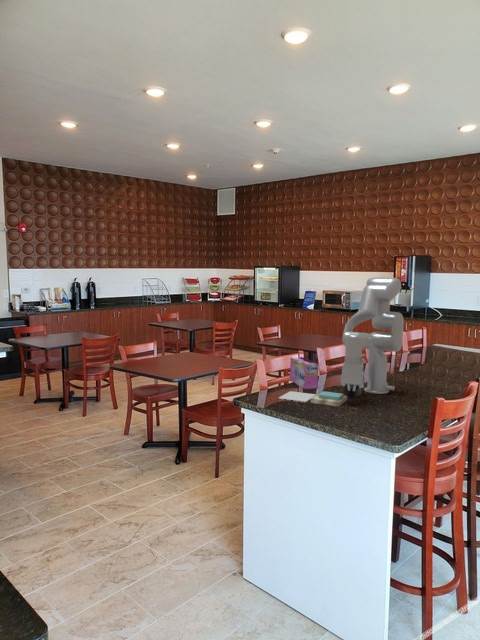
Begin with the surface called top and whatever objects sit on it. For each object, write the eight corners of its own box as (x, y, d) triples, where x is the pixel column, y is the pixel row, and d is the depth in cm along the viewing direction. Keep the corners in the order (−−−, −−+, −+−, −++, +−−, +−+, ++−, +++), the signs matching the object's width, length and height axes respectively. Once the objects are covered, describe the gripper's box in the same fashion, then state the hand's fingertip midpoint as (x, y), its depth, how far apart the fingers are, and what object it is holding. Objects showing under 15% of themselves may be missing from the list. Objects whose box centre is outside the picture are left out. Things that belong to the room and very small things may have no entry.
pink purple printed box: (288, 379, 282) (288, 356, 281) (301, 379, 284) (301, 356, 283) (304, 389, 259) (305, 364, 258) (318, 388, 261) (319, 363, 260)
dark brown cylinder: (347, 397, 243) (348, 367, 242) (338, 392, 253) (339, 364, 251) (364, 396, 246) (366, 367, 245) (355, 391, 255) (356, 363, 254)
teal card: (343, 397, 235) (343, 393, 235) (338, 400, 228) (339, 397, 228) (323, 394, 240) (323, 391, 239) (318, 397, 232) (318, 394, 232)
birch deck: (346, 399, 237) (347, 395, 237) (339, 406, 225) (339, 402, 225) (319, 396, 244) (319, 392, 244) (310, 402, 231) (310, 398, 231)
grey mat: (316, 395, 246) (316, 394, 246) (305, 402, 231) (305, 401, 231) (290, 392, 252) (290, 391, 252) (278, 398, 238) (278, 397, 238)
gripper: (371, 360, 227) (369, 399, 229) (339, 357, 234) (338, 395, 236) (367, 363, 221) (366, 402, 222) (335, 360, 228) (334, 398, 229)
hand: (351, 398), depth 229 cm, fingers closed
